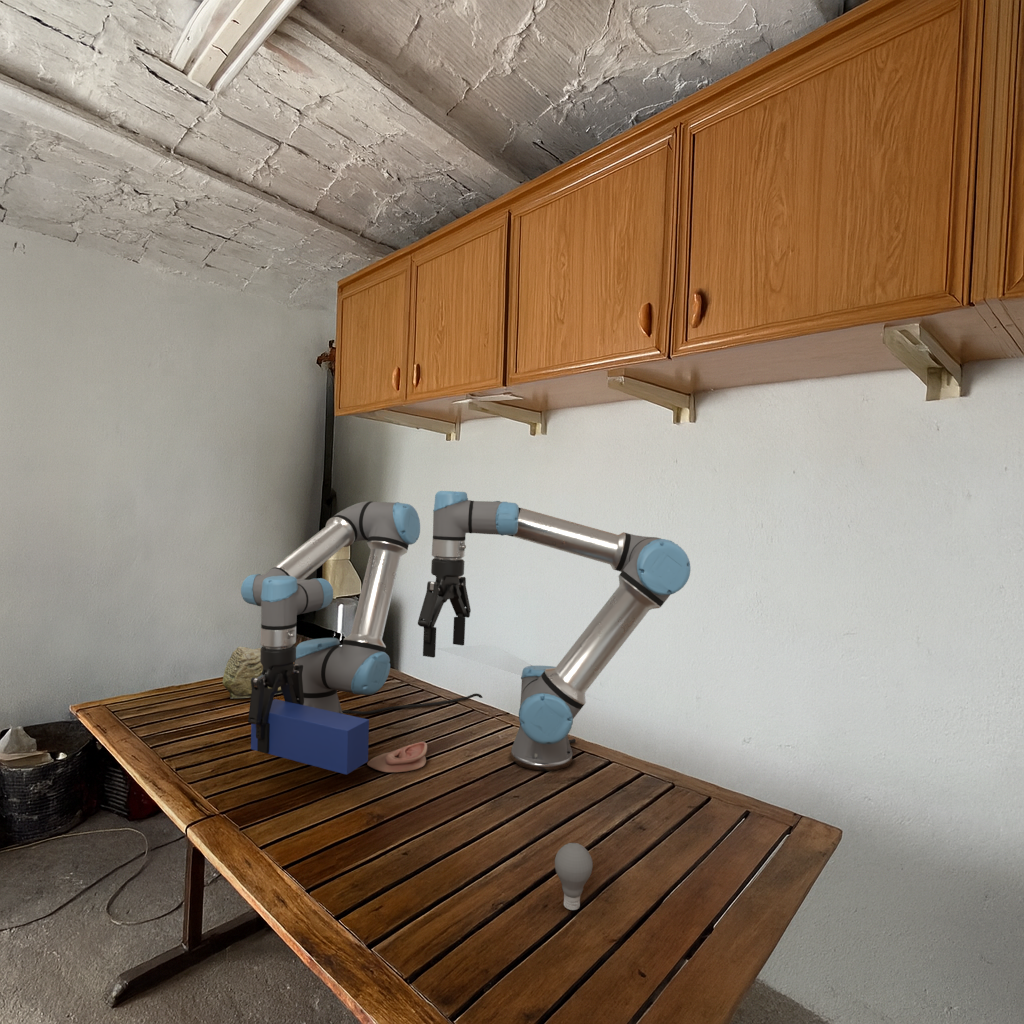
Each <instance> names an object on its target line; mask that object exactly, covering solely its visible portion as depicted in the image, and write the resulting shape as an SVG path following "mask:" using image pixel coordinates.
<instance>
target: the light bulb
mask: <svg viewBox="0 0 1024 1024" xmlns="http://www.w3.org/2000/svg"><path fill="white" fill-rule="evenodd" d="M593 866H594V863H593V859H592V856H591V854H590V852H589V850H588V849H586V847H585V846H583V845H582V844H580V843H577V842H568V843H566V844H563V846H561V847H560V848H559V849H558V850H557V853H556V855H555V858H554V869H555V873H556V874H557V877H558V879H559V881H560V883H561V890H562V892H563V906H564V908H566V909H567V910H570V911H577V910H578V909H580V907H581V895H582V894H583V891H584V886H585V884H586V883H587V882H588V880H589V879H590V877H591V874H592V872H593Z"/></svg>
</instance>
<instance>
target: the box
mask: <svg viewBox="0 0 1024 1024" xmlns="http://www.w3.org/2000/svg"><path fill="white" fill-rule="evenodd" d="M261 718H262V717H261ZM267 723H270V735H269V753H267V754H268V755H272V756H275V757H278V758H283V759H286V760H290V761H294V762H297V763H301V764H305V765H309V766H313V767H316V768H321V769H323V770H328V771H330V772H331V771H332V772H335V773H339V774H343V775H349V774H350V773H352V772H354V771H355V770H357V769H358V768H360V767H362V766H363V765H364V764H367V763H368V762H369V740H370V739H369V738H370V737H369V735H370V719H368V718H364V717H361V716H360V717H359V716H354V715H350V714H347V713H343V714H341V713H337V712H332V711H328V710H323V709H318V708H314V707H309V706H305V705H300V704H296V703H291V702H287V701H285V700H283V699H282V700H281V699H277V698H275V699H274V698H273V702H272V705H271V709H270V713H269V716H268V720H267ZM257 746H258V739H257V738H256V724H252V723H250V750H253V751H256V752H258V751H257Z"/></svg>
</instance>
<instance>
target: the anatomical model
mask: <svg viewBox="0 0 1024 1024" xmlns="http://www.w3.org/2000/svg"><path fill="white" fill-rule="evenodd" d="M427 752H428V744H427V743H426V742H425V741H420V742H415V743H412V744H409V745H405V746H402V747H399V748H398V749H394V750H391V751H389V752H384V753H381V754H379V755H376V756H374V757H372V758H371V759H369V760H368V762H366V764H367V766H368V767H370V768H371V769H373V770H375V771H379V772H383V773H402V772H409V771H414V770H418V769H421V768H422V767H424V766H425V765H426V764H427V758H426V754H427Z"/></svg>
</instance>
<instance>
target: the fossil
mask: <svg viewBox="0 0 1024 1024" xmlns="http://www.w3.org/2000/svg"><path fill="white" fill-rule="evenodd" d="M261 648H262V647H258V648H251V647H247V646H246V647H245V646H238V647H237V648H236V649H235V650H233V651H232V653H231V656H230V657H229V659H228V660H227V663H226V666H225V668H224V671H223V675H222V676H223V677H222V685H223V687H224V688H225V690H226V691H228V693H229V698H230V699H251V692H252V686H251V679H252V678H253V677H254V678H257V677H259V676H260V675H261V673H262V670H263V665H262V664H261V662H260V655H261ZM268 688H270V689H272V688H271V687H268ZM281 694H283V693H282V690H281V687H279V688H278V691H277V693H275V695H281ZM275 695H274V696H275Z"/></svg>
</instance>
